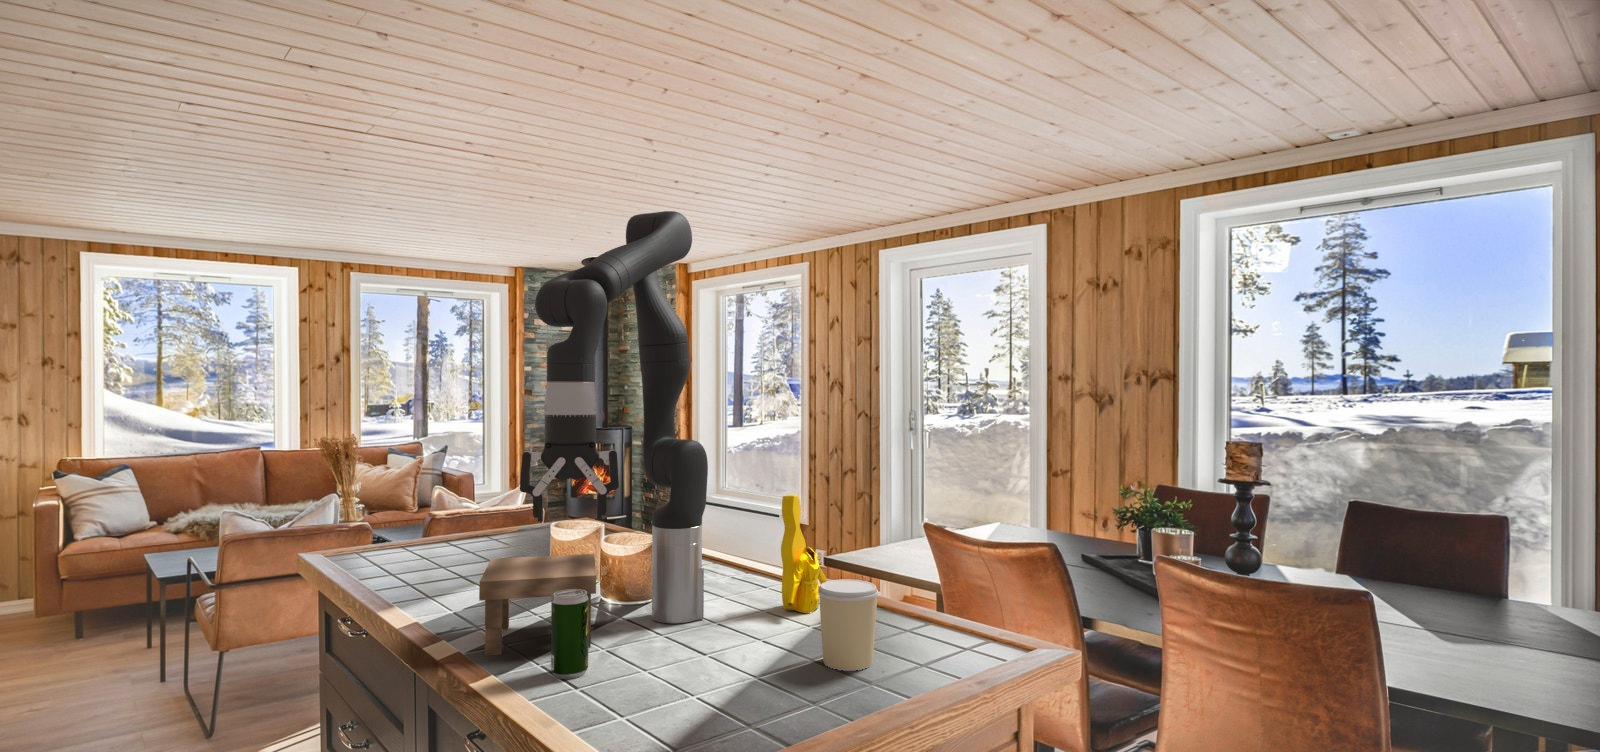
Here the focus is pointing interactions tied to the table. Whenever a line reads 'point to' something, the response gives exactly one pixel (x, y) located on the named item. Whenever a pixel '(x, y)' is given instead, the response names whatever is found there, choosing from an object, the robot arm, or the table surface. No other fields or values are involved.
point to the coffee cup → (848, 623)
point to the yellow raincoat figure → (798, 562)
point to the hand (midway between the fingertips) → (569, 519)
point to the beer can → (569, 633)
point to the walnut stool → (530, 587)
